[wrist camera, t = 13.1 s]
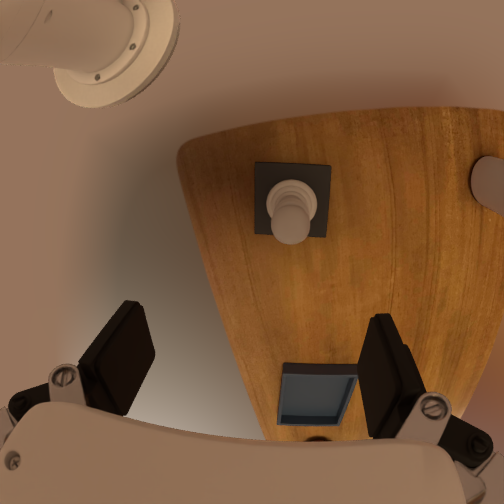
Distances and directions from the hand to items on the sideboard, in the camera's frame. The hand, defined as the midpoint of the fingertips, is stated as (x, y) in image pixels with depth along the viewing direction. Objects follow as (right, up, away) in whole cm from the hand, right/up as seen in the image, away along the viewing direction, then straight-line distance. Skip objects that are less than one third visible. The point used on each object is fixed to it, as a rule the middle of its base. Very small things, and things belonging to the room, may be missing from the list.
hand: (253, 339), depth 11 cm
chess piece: (+4, +9, +20) cm, 22 cm away
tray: (+10, -20, +32) cm, 39 cm away
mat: (+4, +9, +20) cm, 22 cm away
